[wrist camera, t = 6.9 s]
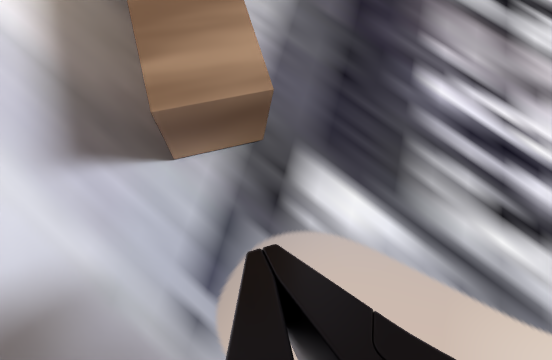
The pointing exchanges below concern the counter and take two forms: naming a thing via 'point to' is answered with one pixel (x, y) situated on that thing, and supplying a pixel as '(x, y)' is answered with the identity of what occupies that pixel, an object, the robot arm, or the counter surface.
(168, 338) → the counter surface
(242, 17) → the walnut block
